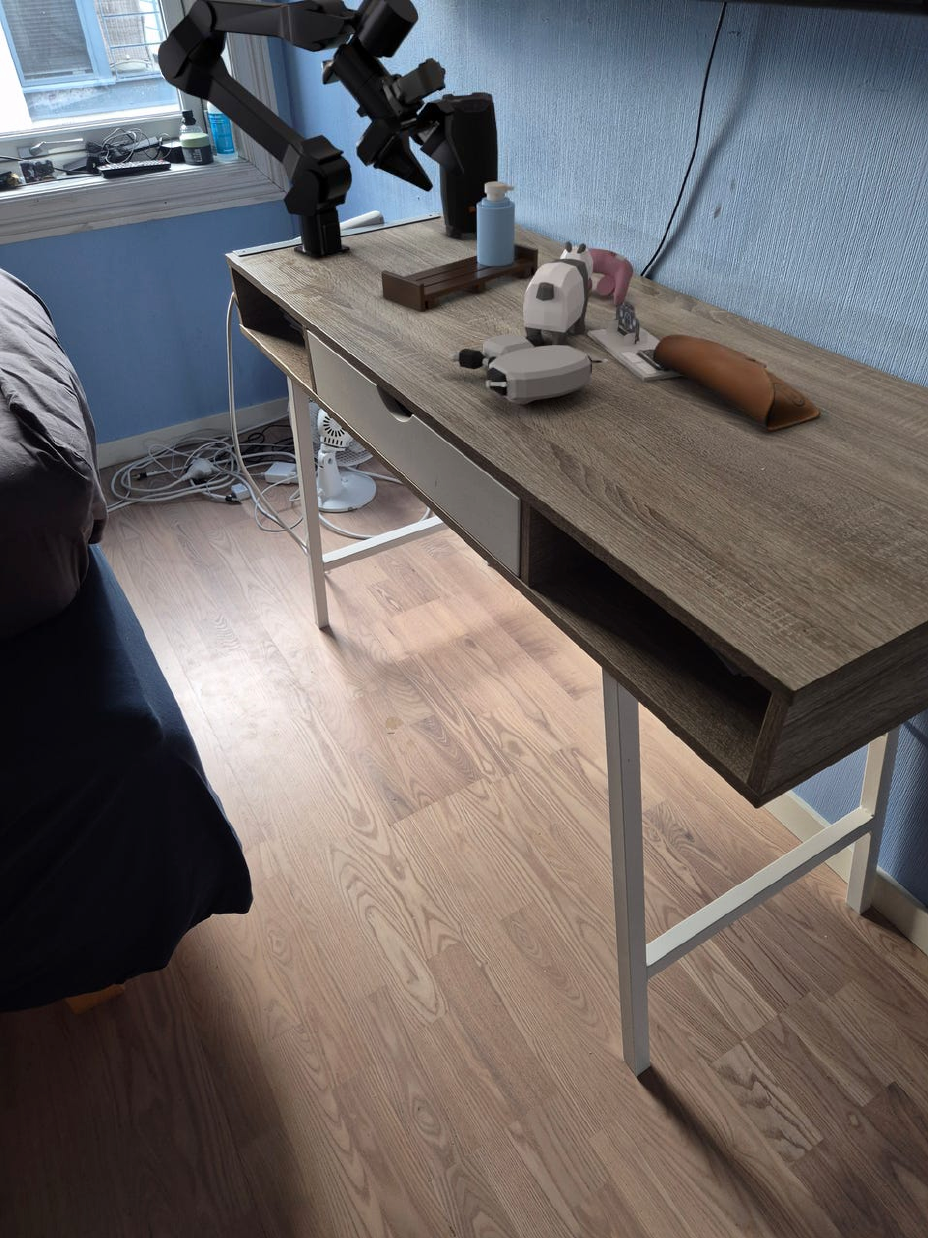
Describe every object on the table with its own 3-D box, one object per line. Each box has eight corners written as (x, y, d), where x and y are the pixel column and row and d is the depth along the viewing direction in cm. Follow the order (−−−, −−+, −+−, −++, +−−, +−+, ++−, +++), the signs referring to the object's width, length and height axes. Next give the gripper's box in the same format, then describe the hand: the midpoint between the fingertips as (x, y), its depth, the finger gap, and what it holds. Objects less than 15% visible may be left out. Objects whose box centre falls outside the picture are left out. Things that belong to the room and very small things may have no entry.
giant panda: (562, 355, 101) (567, 270, 95) (518, 348, 102) (520, 264, 97) (601, 315, 111) (607, 235, 105) (560, 309, 113) (564, 231, 107)
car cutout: (587, 334, 106) (590, 297, 103) (636, 327, 107) (640, 290, 105) (644, 381, 95) (649, 341, 92) (698, 373, 96) (704, 333, 93)
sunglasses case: (828, 410, 87) (818, 362, 82) (775, 457, 87) (761, 411, 82) (709, 348, 99) (694, 303, 94) (662, 389, 99) (644, 346, 94)
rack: (382, 297, 118) (380, 271, 116) (498, 262, 129) (498, 237, 127) (421, 311, 113) (419, 284, 111) (537, 274, 125) (538, 248, 122)
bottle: (472, 264, 122) (471, 186, 116) (484, 254, 126) (484, 178, 120) (507, 267, 121) (508, 189, 115) (518, 257, 125) (520, 180, 118)
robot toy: (443, 380, 98) (508, 423, 86) (440, 340, 95) (507, 378, 84) (537, 360, 102) (611, 398, 91) (537, 320, 99) (613, 354, 88)
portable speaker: (489, 242, 138) (489, 99, 126) (434, 238, 140) (428, 98, 128) (503, 227, 144) (504, 91, 132) (450, 224, 147) (446, 90, 134)
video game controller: (628, 310, 116) (639, 255, 115) (621, 305, 112) (632, 247, 111) (558, 301, 120) (569, 248, 118) (549, 295, 116) (559, 240, 114)
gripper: (367, 43, 105) (451, 151, 108) (439, 29, 118) (512, 126, 121) (321, 114, 113) (400, 213, 116) (394, 94, 126) (463, 183, 129)
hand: (446, 181), depth 120 cm, fingers open, 9 cm apart
